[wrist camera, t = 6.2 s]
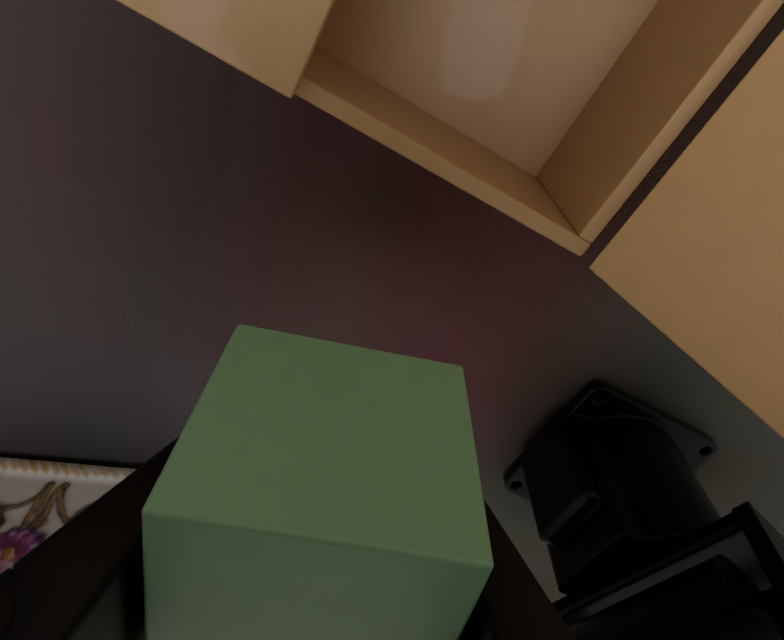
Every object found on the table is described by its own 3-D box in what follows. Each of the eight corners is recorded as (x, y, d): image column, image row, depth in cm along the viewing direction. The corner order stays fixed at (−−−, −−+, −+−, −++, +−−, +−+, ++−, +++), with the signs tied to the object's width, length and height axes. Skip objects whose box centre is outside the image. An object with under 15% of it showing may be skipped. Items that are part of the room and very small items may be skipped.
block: (463, 364, 10) (496, 567, 6) (412, 515, 12) (415, 731, 8) (237, 321, 9) (139, 511, 6) (224, 483, 11) (145, 696, 8)
